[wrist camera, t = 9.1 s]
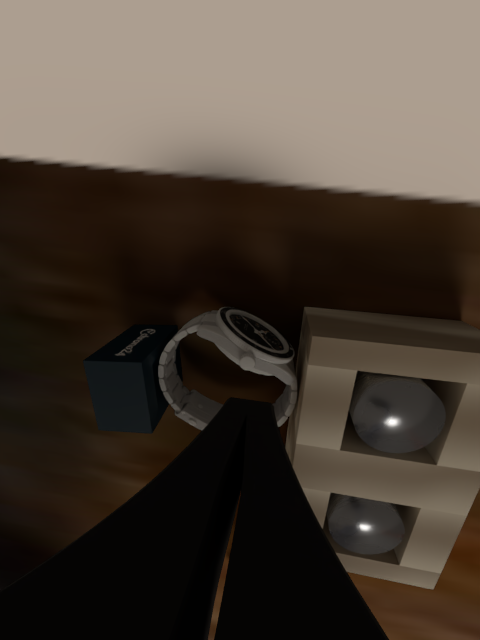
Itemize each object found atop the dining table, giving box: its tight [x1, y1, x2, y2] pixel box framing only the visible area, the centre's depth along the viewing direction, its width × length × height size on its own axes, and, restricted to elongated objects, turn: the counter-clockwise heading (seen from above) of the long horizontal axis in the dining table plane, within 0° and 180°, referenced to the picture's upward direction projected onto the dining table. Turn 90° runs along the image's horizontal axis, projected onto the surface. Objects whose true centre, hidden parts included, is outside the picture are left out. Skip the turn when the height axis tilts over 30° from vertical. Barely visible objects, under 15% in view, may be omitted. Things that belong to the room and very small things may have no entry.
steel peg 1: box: [349, 371, 446, 453], centre depth 15 cm, size 4×4×5 cm
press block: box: [285, 307, 480, 589], centre depth 16 cm, size 15×9×5 cm, turn 177°
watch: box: [83, 307, 297, 433], centre depth 16 cm, size 6×8×11 cm
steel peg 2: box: [326, 493, 405, 555], centre depth 17 cm, size 4×4×5 cm
